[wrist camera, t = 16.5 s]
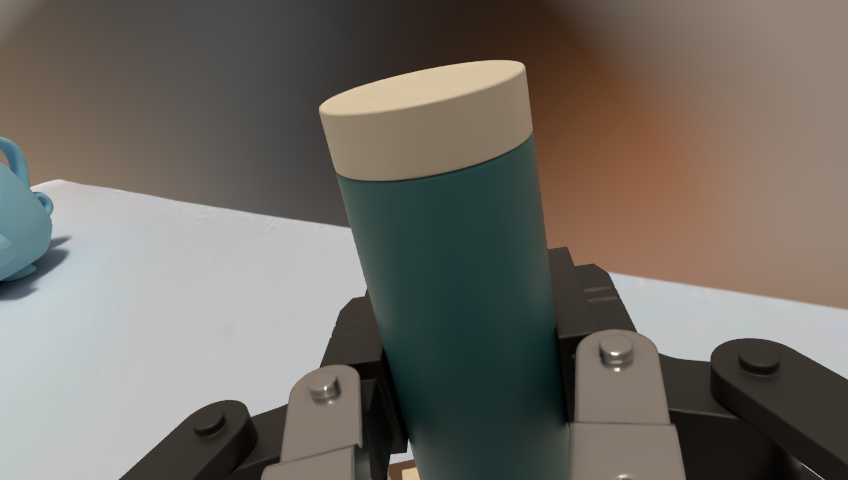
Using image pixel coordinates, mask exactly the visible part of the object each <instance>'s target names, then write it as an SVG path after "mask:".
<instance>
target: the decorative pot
mask: <svg viewBox="0 0 848 480" xmlns="http://www.w3.org/2000/svg"><path fill="white" fill-rule="evenodd" d="M0 149H1V150H2V151H3V152H4V153H5V155H6V157H7V159H8V161H9V164H10V168H11V170H10V169H9V168H7V167H6V166H5V165H4V164H2V163H1V162H0V281H1V280H2V281H3V282H8V281H13V280H16V279H19V278H22V277H24V276H27V275H29V274H30V273H32V272H34V271H35V270H36V269H37V267H35V266H34V265H32V264H31V263H32V262H34V261H35V260H37V259H38V258H40V257H41V256H42V255H43V254H45V253H46V252H47V250H48V247H49V244H50V239H51V233H52V221H51V218H50V215H51V213H52V211H53V203H52V201H51V199H50V198H49V197H48V196H47V195H45V194H44V193H41V192H32V191H31V189H30V182H29V173H28V167H27V163H26V160H25V157H24V155H23V153H22V151H21V149H20V148H19V147H18V146H17V145H16V144H15V143H13V142H12V141H10V140H8V139H6V138H3V137H0Z"/></svg>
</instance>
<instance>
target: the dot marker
mask: <svg viewBox="0 0 848 480" xmlns="http://www.w3.org/2000/svg"><path fill="white" fill-rule="evenodd" d="M319 112H320V116H321V120H322V124H323V127H324V131H325V135H326V138H327V142H328V146H329V149H330V153H331V157H332V160H333V164H334V167H335V170H336V175H337V179H338V182H339V185H340V190H341V193H342V197H343V201H344V204H345V208H346V211H347V215H348V219H349V222H350V226H351V230H352V233H353V237H354V241H355V244H356V248H357V252H358V255H359V259H360V263H361V266H362V270H363V274H364V277H365V281H366V285H367V288H368V292H369V296H370V299H371V303H372V307H373V310H374V314H375V317H376V321H377V325H378V328H379V332H380V336H381V339H382V343H383V347H384V350H385V354H386V358H387V361H388V365H389V369H390V372H391V376H392V380H393V383H394V387H395V391H396V394H397V398H398V402H399V405H400V409H401V412H402V416H403V420H404V423H405V427H406V431H407V434H408V438H409V442H410V445H411V449H412V453H413V456H414V460H415V464H416V467H417V471H418V475H419V478H420V480H568V457H569V426H568V422H567V414H566V406H565V398H564V390H563V382H562V374H561V366H560V358H559V349H558V341H557V333H556V314H555V306H554V298H553V290H552V282H551V274H550V266H549V257H548V249H547V241H546V234H545V225H544V217H543V210H542V202H541V192H540V184H539V176H538V168H537V160H536V152H535V144H534V136H533V132H532V129H533V127H532V119H531V112H530V103H529V96H528V87H527V79H526V71H525V66H524V65H523V64H522V63H520V62H516V61H508V60H492V61H479V62H470V63H462V64H456V65H449V66H443V67H438V68H432V69H426V70H422V71H417V72H412V73H408V74H403V75H400V76H395V77H391V78H388V79H384V80H380V81H377V82H373V83H370V84H366V85H363V86H360V87H357V88H354V89H351V90H348V91H346V92H343V93H341V94H339V95H336V96H334V97H332V98H330V99H329V100H327V101H326V102H324V103H323V104H322V105H321V106H320V108H319Z"/></svg>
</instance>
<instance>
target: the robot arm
mask: <svg viewBox="0 0 848 480" xmlns="http://www.w3.org/2000/svg"><path fill="white" fill-rule="evenodd" d="M548 257H549V266H550V274H551V282H552V290H553V298H554V306H555V314H556V333H557V341H558V349H559V358H560V366H561V374H562V382H563V390H564V398H565V406H566V414H567V422H568V426H569V457H568V480H822V479H821V478H820V477H822V478H823V479H824V480H848V380H847V379H846V378H844V377H842V376H840V375H838V374H837V373H835V372H833V371H831V370H829V369H828V368H826V367H824V366H822V365H820V364H819V363H817V362H815V361H813V360H811V359H810V358H808V357H806V356H804V355H802V354H801V353H799V352H797V351H795V350H793V349H792V348H789V347H787V346H785V345H783V344H780V343H777V342H773V341H770V340H764V339H755V338H744V339H736V340H731V341H728V342H725V343H723V344H721V345H719V346H718V347H717V348H715V350H714V351H713V352H712V355H711V362H706V361H694V360H684V359H677V358H673V357H669V356H666V355H663V354H660V353H658V350H657V347H656V346H655V344H654V343H653V342H652V341H651V340H650V339H648V338H647V337H645V336H643V335H641V334H639V333H637V331H636V329H635V327H634V325H633V323H632V320H631V318H630V316H629V314H628V312H627V310H626V308H625V306H624V304H623V302H622V300H621V299H620V296H619V294H618V292H617V290H616V288H615V286H614V284H613V282H612V280H611V278H610V276H609V274H608V273H607V272H606V271H604V270H603V269H601V268H600V267H598V266H596V265H595V264H588V265H581V266H574V264H573V261H572V258H571V256H570V253H569V250H568V248H567V247H560V248H554V249H548ZM407 446H408V434H407V431H406V427H405V423H404V420H403V416H402V412H401V409H400V405H399V402H398V398H397V394H396V391H395V387H394V383H393V380H392V376H391V372H390V369H389V365H388V361H387V358H386V354H385V350H384V347H383V343H382V339H381V336H380V332H379V328H378V325H377V321H376V317H375V314H374V310H373V307H372V303H371V299H370V296H369V292H368V288H367V290H366V294H365V296H364V297H357V298H353V299H352V300H351V301H350V302H349V303H348V304H347V305H346V306H345V307H344V308H343V309H342V310H341V311H340V313H339V316H338V319H337V321H336V326H335V327H334V330H333V332H332V337H331V338H330V340H329V343H328V346H327V349H326V351H325V354H324V357H323V359H322V362H321V365H320V368H319V369H316V370H314V371H312V372H310V373H308V374H307V375H305V376H304V377H302V378H301V379H300V380H299V381H298V382H297V383H296V384H295V385H294V387H293V388H292V390H291V392H290V396H289V402H288V404H286V405H284V406H281V407H279V408H276V409H273V410H270V411H267V412H265V413H262V414H259V415H256V416H253V417H251V416H250V414H249V412H248V409H247V407H246V406H245V404H243V403H242V402H239V401H235V400H225V401H219V402H215V403H212V404H210V405H207V406H205V407H203V408H201V409H199V410H197V411H196V412H194V413H193V414H191V415H190V416H189V417H188V418H186V419H185V420H184V421H183V422H182V423H181V424H180V425H179V426H178V427H176V428H175V429H174V430H173V431H172V432H171V433H170V434H169V435H168V436H167V437H165V438H164V439H163V440H162V441H161V442H160V443H159V444H158V445H157V446H156V447H154V448H153V449H152V450H151V451H150V452H149V453H148V454H147V455H146V456H144V457H143V458H142V459H141V460H140V461H139V462H138V463H137V464H136V465H135V466H133V467H132V468H131V469H130V470H129V471H128V472H127V473H126V474H125V475H124V476H122V477H121V478H120V479H119V480H391V477H390V474H389V471H388V467H389V461H390V455H391V454H398V453H407ZM802 463H803V464H804V465H806V466H807V467H808V468H810V469H811V470H812V471H814V472H815V473H816V474H818V475H819V476H820V477H818V476H817V475H816V474H814V473H813V472H812V471H810V470H809V469H808V468H806V467H805V466H804V465H802Z"/></svg>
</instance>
